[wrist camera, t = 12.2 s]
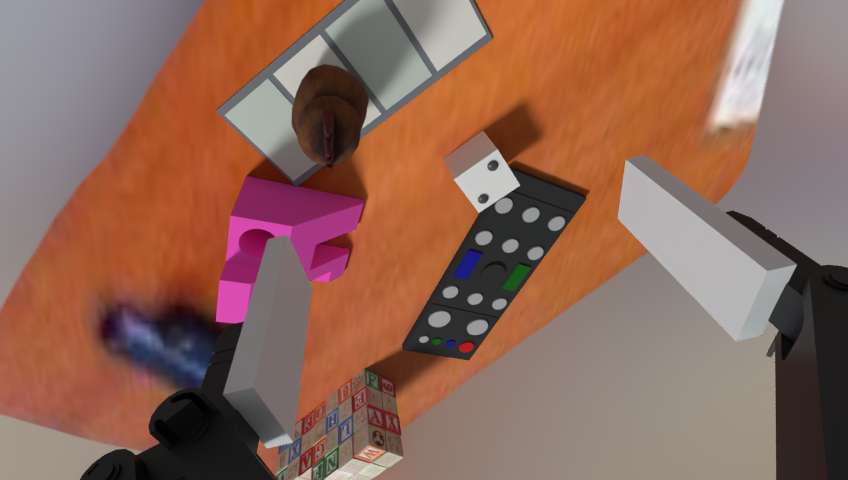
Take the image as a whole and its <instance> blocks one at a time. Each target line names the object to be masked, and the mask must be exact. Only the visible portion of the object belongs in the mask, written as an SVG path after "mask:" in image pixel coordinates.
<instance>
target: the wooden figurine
mask: <svg viewBox="0 0 848 480" xmlns="http://www.w3.org/2000/svg"><path fill="white" fill-rule="evenodd" d="M368 102H369V97H368V94H367V92H366V90H365V87H364V85H363V83H362V82H361V81H360V80H359V79H358V78H356V77H355V76H354V75H353V74H351V73H350V72H348V71H346V70H344V69H342V68H340V67H338V66H333V65H327V64H323V65H320V66H317V67H315V68H312V69H310V70H309V71H308V72H307V74H306V75H305V77H304V78H303V79H302V81H301V83H300V85H299V88H298V90H297V92H296V96H295V99H294V103H293V106H292V120H291V123H292V127H293V129H294V131H295V133H296V135H297V138H298V143H299V145H300V146H301V148H302V150H303V152H304V154H305V155H306V156H307V157H308V158H309V159H310V160H311V161H312V162H315V163H318V164H321V165H326V170H332V168H333V165H336V164H338V163H341V162H344V161H345V160H346V159H348V158H349V157H350V156H351V155H352V154H353V152H354V151H355V150H356V148H357V147H358V144H359V140H360V136H361V129H362V127H363V124H364V121H365V118H366V114H367V107H368Z"/></svg>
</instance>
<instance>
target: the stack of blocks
mask: <svg viewBox="0 0 848 480" xmlns="http://www.w3.org/2000/svg"><path fill="white" fill-rule="evenodd" d="M400 436H401V429H400V422H399V417H398V411H397V404H396V395H395V388H394V382H393V381H391V380H388V379H386V378H384V377H382V376H379V375H377V374H375V373H373V372H371V371H369V370H367V369H363V370H362V371H361V372H360V373H358V374H357V375H356V376H355V377H353V378H352V379H350V380H349V381H348V382H346V383H345V384H344V385H343V386H342V387H340V388H339V389H338V390H337V391H335V392H334V393H333V394H332V395H330V396H329V397H328V398H327V399H326V400H325V401H324V402H323V403H322V404H320V405H319V406H318V407H317V408H315V410H313V411H312V412H311V413H310V414H308V415H307V416H306V417H305V418H304V419H302V420H301V421H299V422H298V423H297V424H296V425H295V433H294V441H293V443H289V444H284V445H280V446H279V452H278V459H277V468H276V475H277V476H276V478H277V479H278V480H371V479H372V478H374V477H376V476H377V475H378V474H380V473H381V472H383V471H384V470H386V469H387V467H390V466H392V465H393V464H395V463H396V462H397V461H399V460H401V459H402V458H403V450H402V444H401V437H400Z"/></svg>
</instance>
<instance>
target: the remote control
mask: <svg viewBox="0 0 848 480" xmlns="http://www.w3.org/2000/svg"><path fill="white" fill-rule="evenodd" d="M508 167H509V168H510V170H511V171H512V173H513V174H514V176H515V178H516V179H517V181H518V182H519V184H520V186H519V187H517V188H516V189H514V190H513V191H511V192H510V193H508V194H507V195H505V196H504V197H502V198H501V199H499V200H498V201H496V202H495V203H493V204H492V205H490V206H489V207H487V208H486V209H484V210H483V211H481V212H480V213H479V215H478V217H477V218H476V220H475V222H474V224H473V225H472V227H471V229H470V230H469V232H468V234H467V235H466V237H465V239H464V240H463V242H462V244H461V246H460V247H459V249H458V251H457V252H456V254H455V256H454V257H453V259H452V261H451V263H450V264H449V266H448V268H447V269H446V271H445V273H444V274H443V276H442V278H441V280H440V281H439V283H438V285H437V286H436V288H435V290H434V291H433V293H432V295H431V297H430V298H429V300H428V302H427V303H426V305H425V307H424V308H423V310H422V312H421V314H420V315H419V317H418V319H417V320H416V322H415V324H414V325H413V327H412V329H411V330H410V332H409V334H408V336H407V337H406V339H405V341H404V342H403V344H402V346H403V350H409V351H415V352H421V353H427V354H433V355H439V356H445V357H452V358H458V359H464V360H470V358H471V357H472V355H473V354H474V353H475V351H476V350H477V349H478V347H479V346H480V344H481V343H482V342H483V340H484V339H485V338H486V336H487V335H488V333H489V332H490V331H491V329H492V328H493V327H494V325H495V324H496V322H497V321H498V320H499V318H500V317H501V316H502V314H503V313H504V311H505V310H506V309H507V307H508V306H509V305H510V303H511V302H512V300H513V299H514V298H515V296H516V295H517V294H518V292H519V291H520V289H521V288H522V287H523V285H524V284H525V283H526V281H527V280H528V278H529V277H530V276H531V274H532V273H533V272H534V270H535V269H536V267H537V266H538V265H539V263H540V262H541V261H542V259H543V258H544V256H545V255H546V254H547V252H548V251H549V250H550V248H551V247H552V245H553V244H554V243H555V241H556V240H557V239H558V237H559V236H560V234H561V233H562V232H563V230H564V229H565V228H566V226H567V225H568V223H569V222H570V221H571V219H572V218H573V217H574V215H575V214H576V212H577V211H578V210H579V208H580V207H581V206H582V204H583V203H584V201H585V200H586V199H587V198H586V197H585V196H584V195H582V194H580V193H577V192H575V191H572V190H569V189H567V188H564V187H562V186H559V185H557V184H554V183H551V182H549V181H546V180H544V179H541V178H539V177H536V176H533V175H531V174H528V173H526V172H523V171H520V170H518V169H515V168H513V167H510V166H508Z"/></svg>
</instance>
